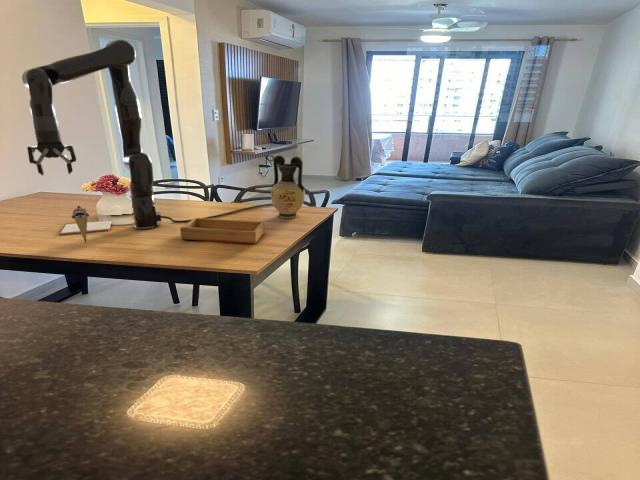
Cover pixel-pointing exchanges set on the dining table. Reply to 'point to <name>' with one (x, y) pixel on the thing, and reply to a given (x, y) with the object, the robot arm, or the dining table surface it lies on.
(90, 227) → the white flat slab
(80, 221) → the ice cream cone
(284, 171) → the amphora
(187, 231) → the tray
